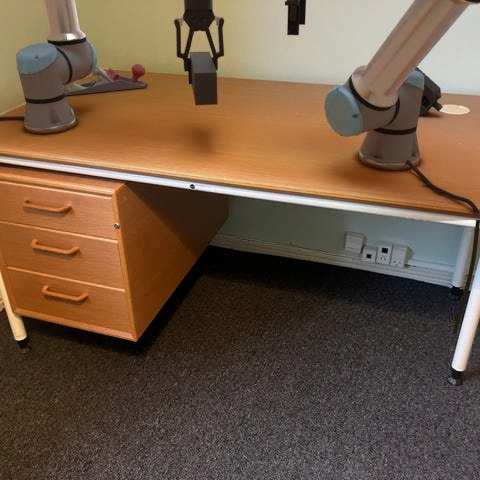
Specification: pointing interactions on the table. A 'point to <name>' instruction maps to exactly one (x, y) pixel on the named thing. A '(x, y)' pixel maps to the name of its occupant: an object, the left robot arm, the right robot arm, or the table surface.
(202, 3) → the left robot arm
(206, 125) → the table surface
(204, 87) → the bar
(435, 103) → the tool
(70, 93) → the hand plane
